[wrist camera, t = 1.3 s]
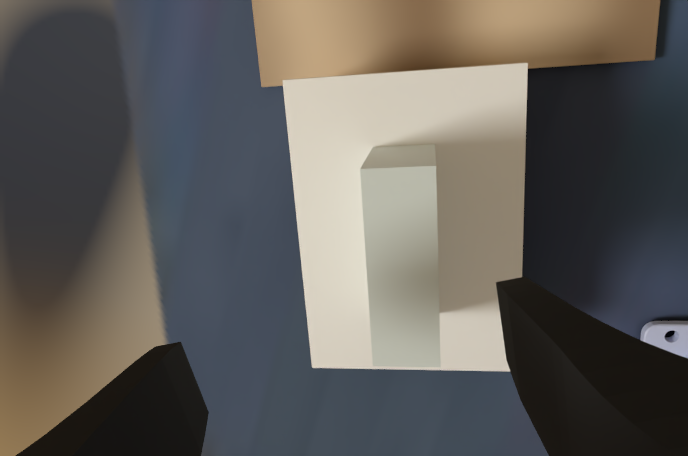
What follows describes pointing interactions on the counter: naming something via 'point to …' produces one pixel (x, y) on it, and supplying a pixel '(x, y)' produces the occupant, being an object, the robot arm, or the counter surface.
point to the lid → (408, 213)
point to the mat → (446, 34)
